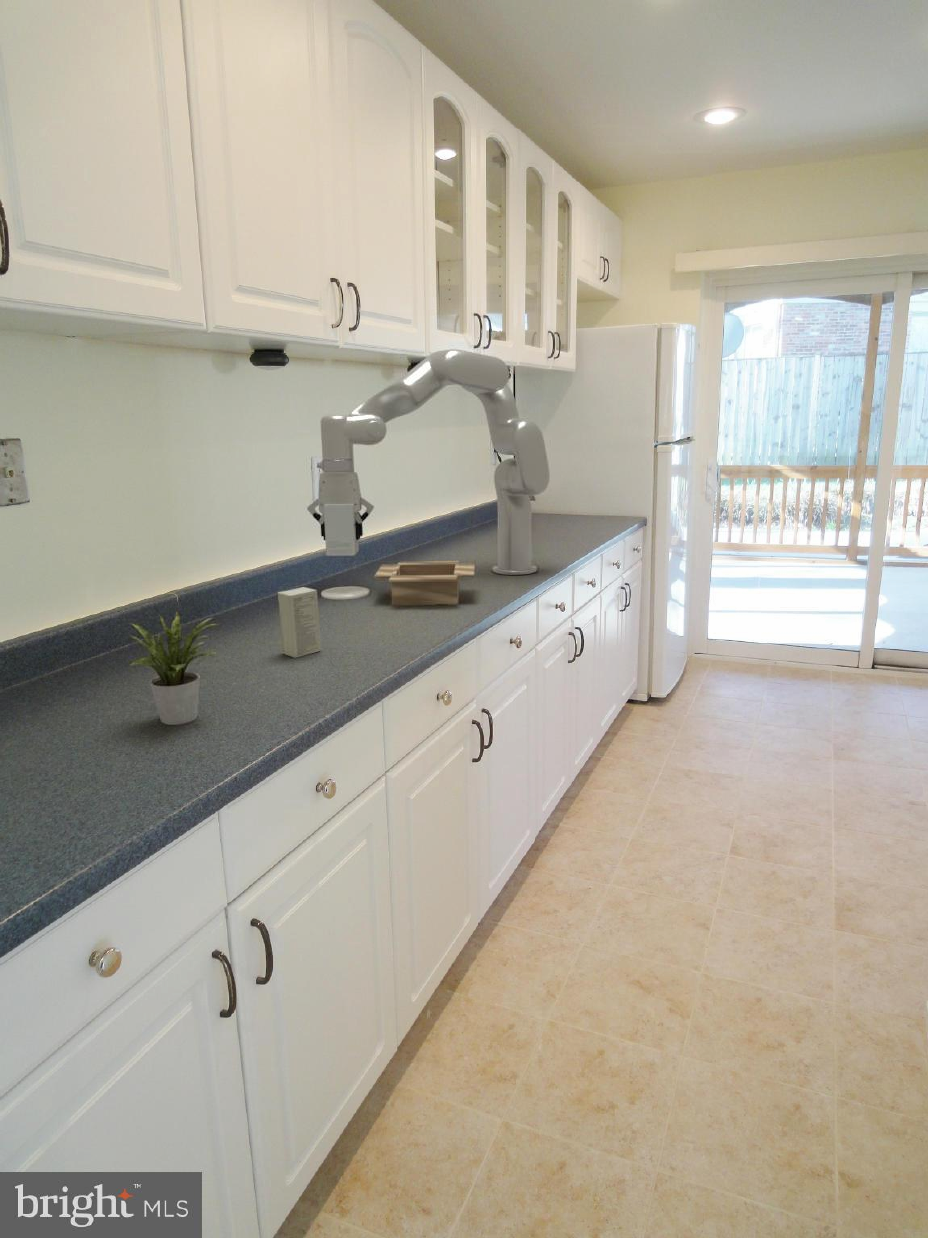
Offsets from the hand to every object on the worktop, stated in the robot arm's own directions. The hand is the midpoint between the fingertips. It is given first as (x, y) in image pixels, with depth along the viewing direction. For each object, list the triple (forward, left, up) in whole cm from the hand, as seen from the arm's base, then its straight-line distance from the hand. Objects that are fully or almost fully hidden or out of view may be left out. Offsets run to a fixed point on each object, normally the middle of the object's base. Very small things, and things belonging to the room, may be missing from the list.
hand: (342, 538), depth 202 cm
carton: (+5, +21, -14) cm, 26 cm away
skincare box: (+52, 0, -14) cm, 54 cm away
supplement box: (0, 0, -4) cm, 4 cm away
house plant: (+87, -10, -14) cm, 89 cm away
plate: (0, 0, -14) cm, 14 cm away
